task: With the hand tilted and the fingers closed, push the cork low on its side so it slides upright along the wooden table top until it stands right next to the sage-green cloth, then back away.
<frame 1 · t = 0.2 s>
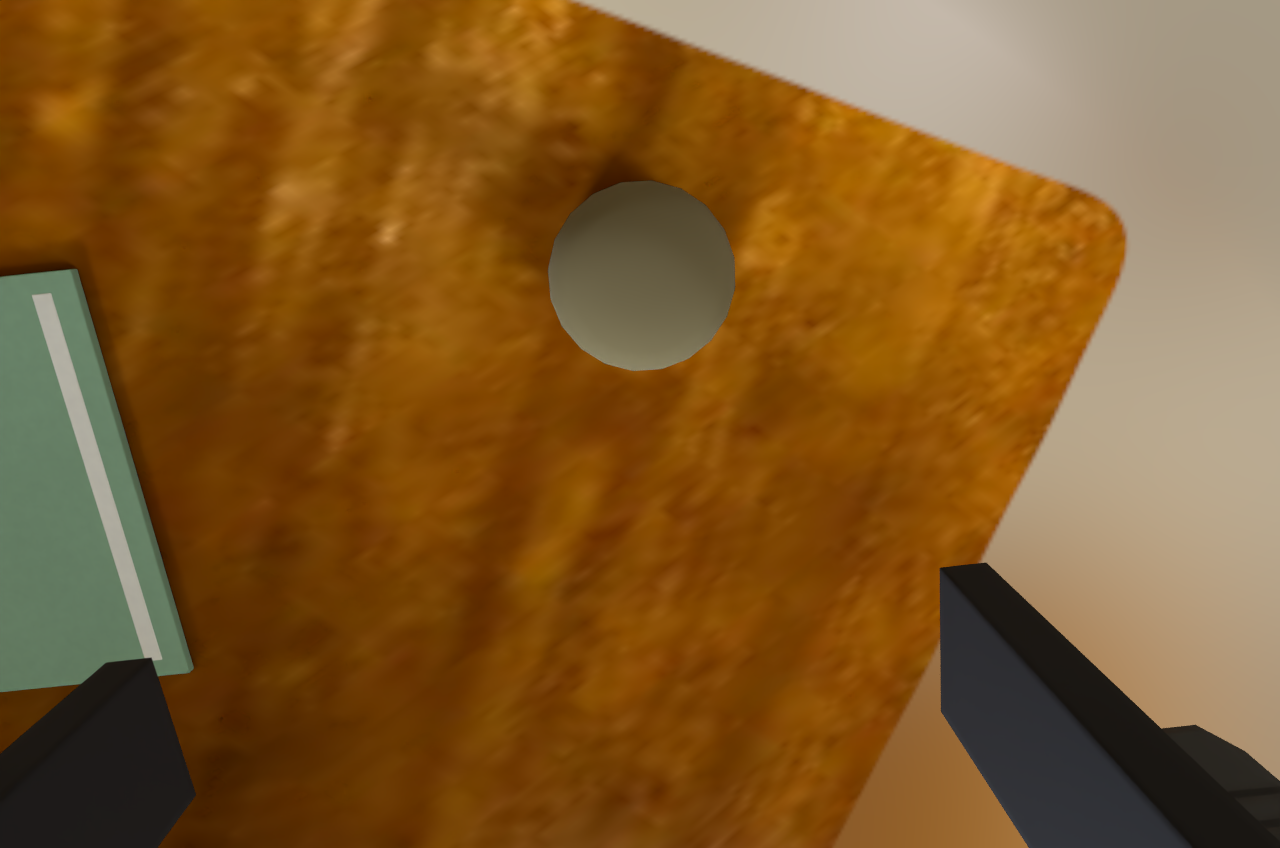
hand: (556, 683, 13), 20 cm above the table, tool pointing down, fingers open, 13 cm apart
cloth: (1, 497, 32), on the table
cork: (637, 260, 30), on the table
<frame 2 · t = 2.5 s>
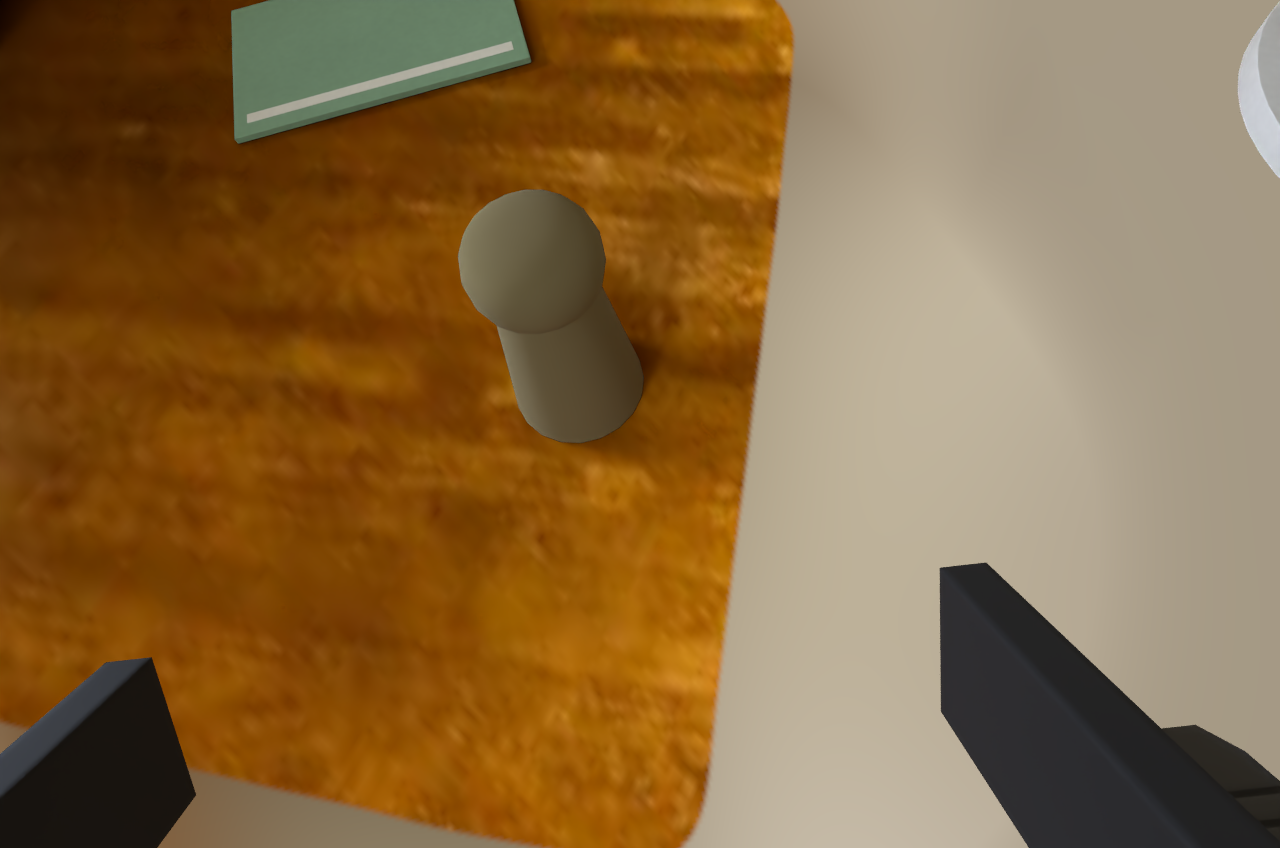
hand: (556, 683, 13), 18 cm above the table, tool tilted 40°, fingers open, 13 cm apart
cloth: (375, 38, 47), on the table
cork: (580, 385, 35), on the table
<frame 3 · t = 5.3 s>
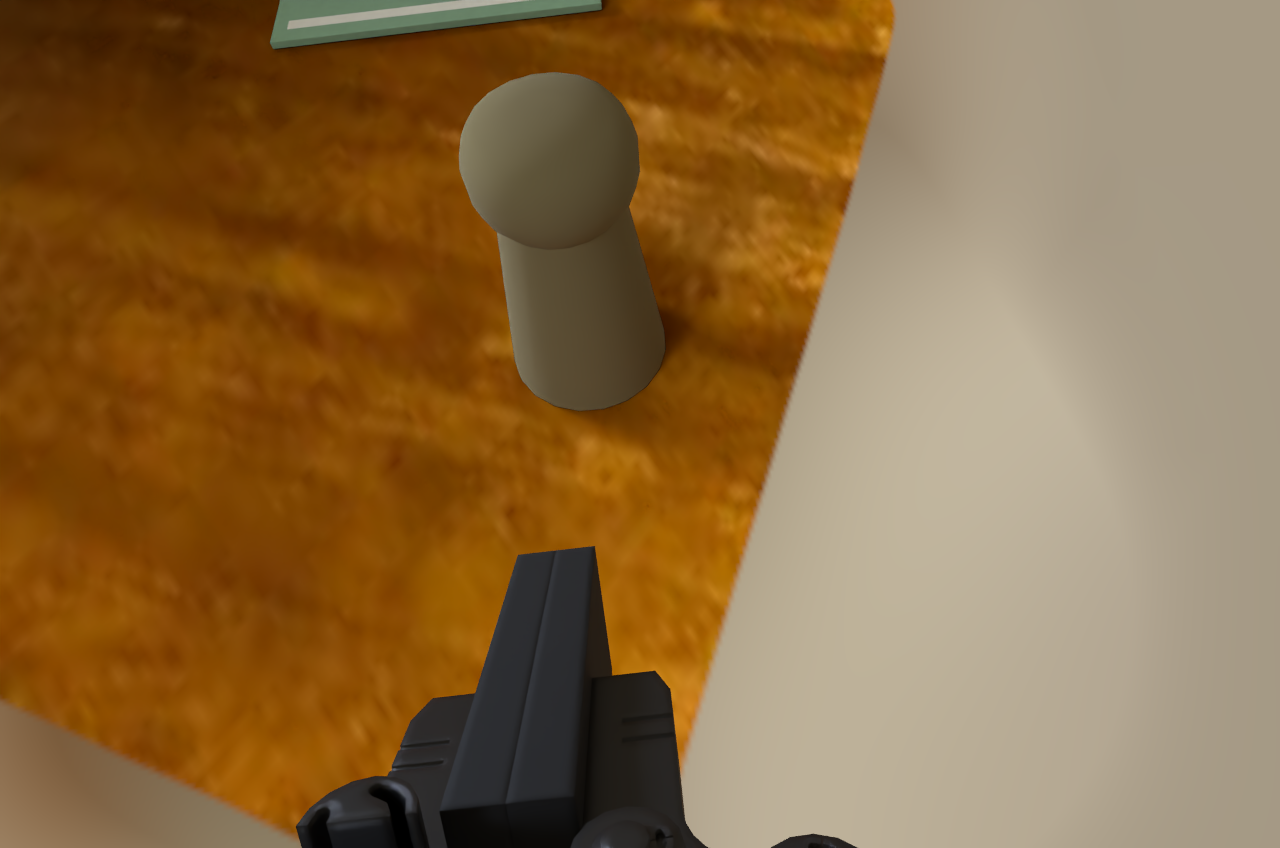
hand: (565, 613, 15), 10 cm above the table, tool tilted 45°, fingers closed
cork: (590, 348, 30), on the table
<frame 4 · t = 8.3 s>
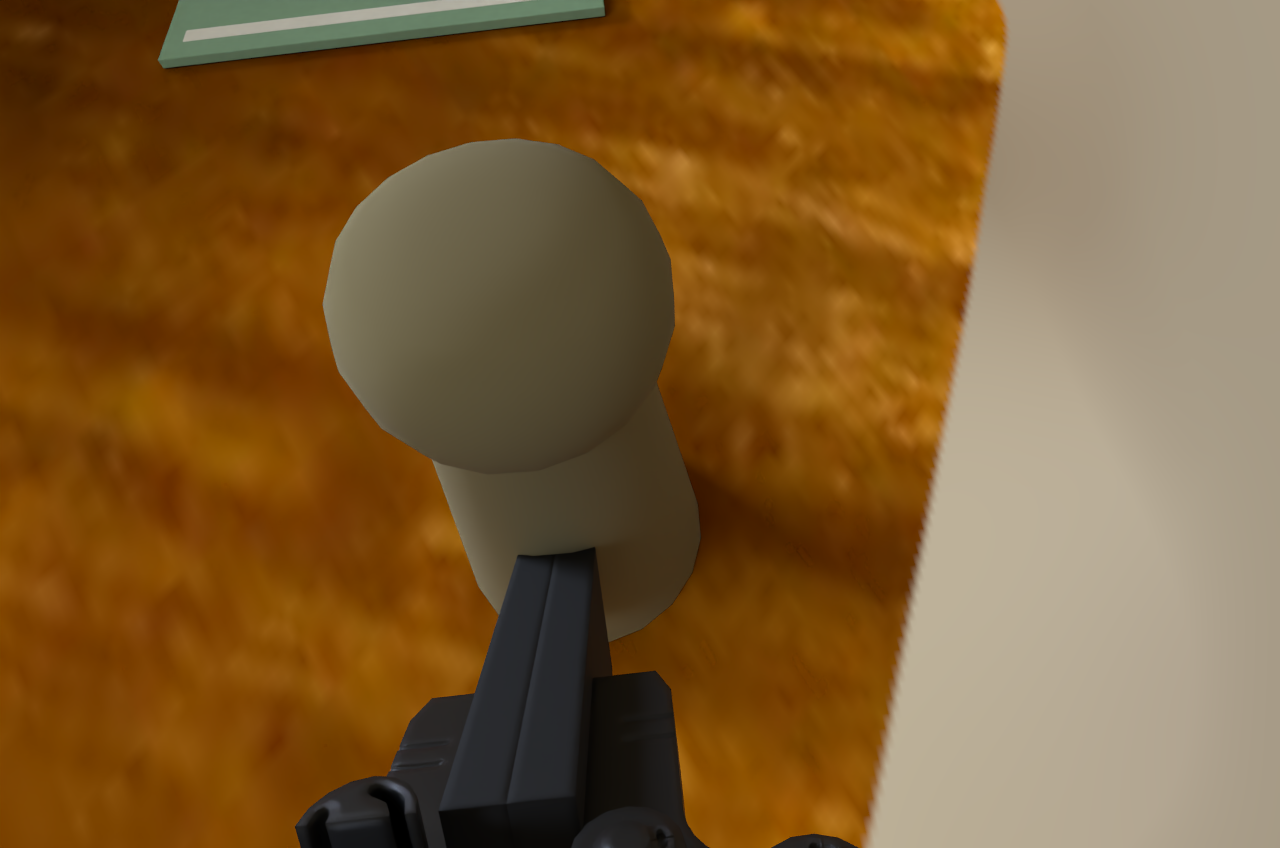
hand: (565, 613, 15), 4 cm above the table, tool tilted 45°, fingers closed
cork: (585, 531, 20), on the table, touching gripper
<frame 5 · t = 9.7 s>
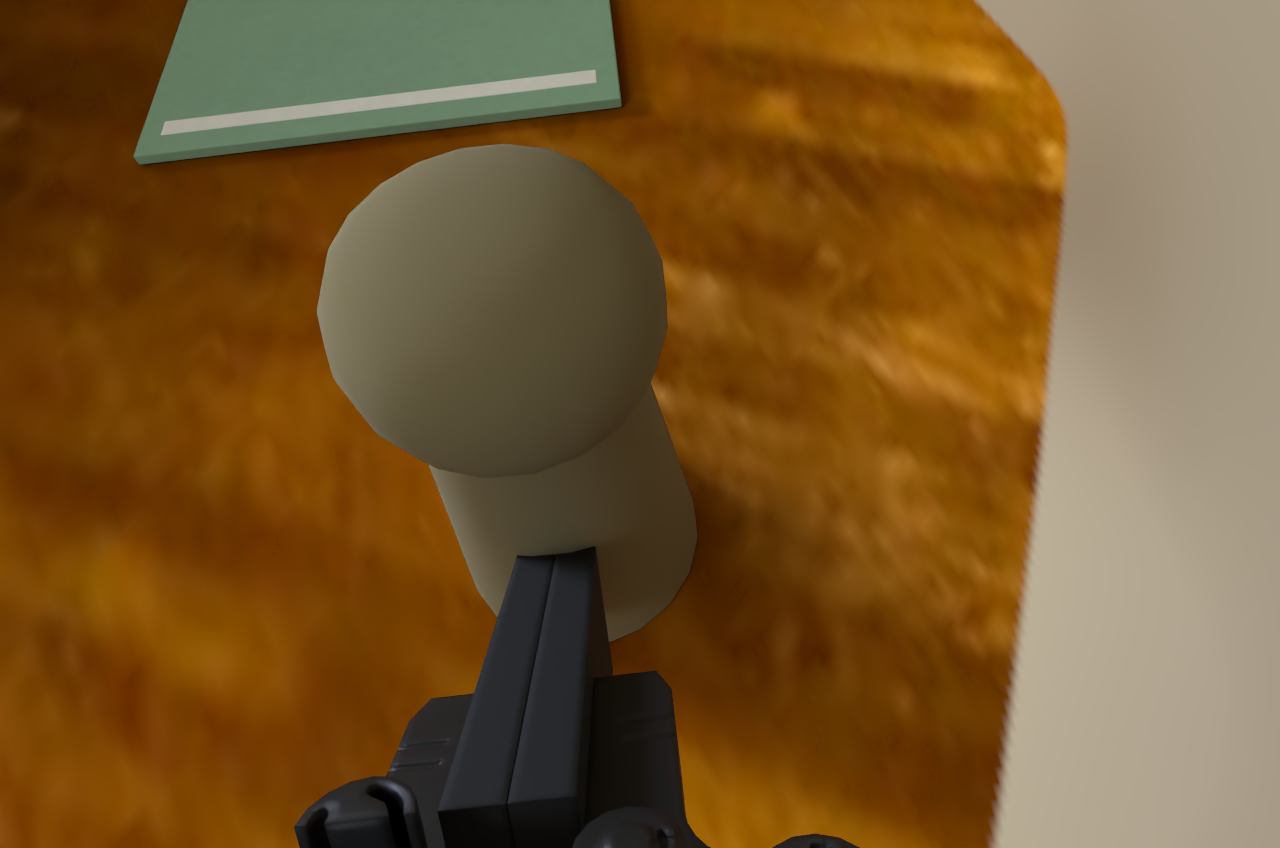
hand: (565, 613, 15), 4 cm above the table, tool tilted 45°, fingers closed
cloth: (391, 36, 31), on the table
cork: (582, 532, 20), on the table, touching gripper
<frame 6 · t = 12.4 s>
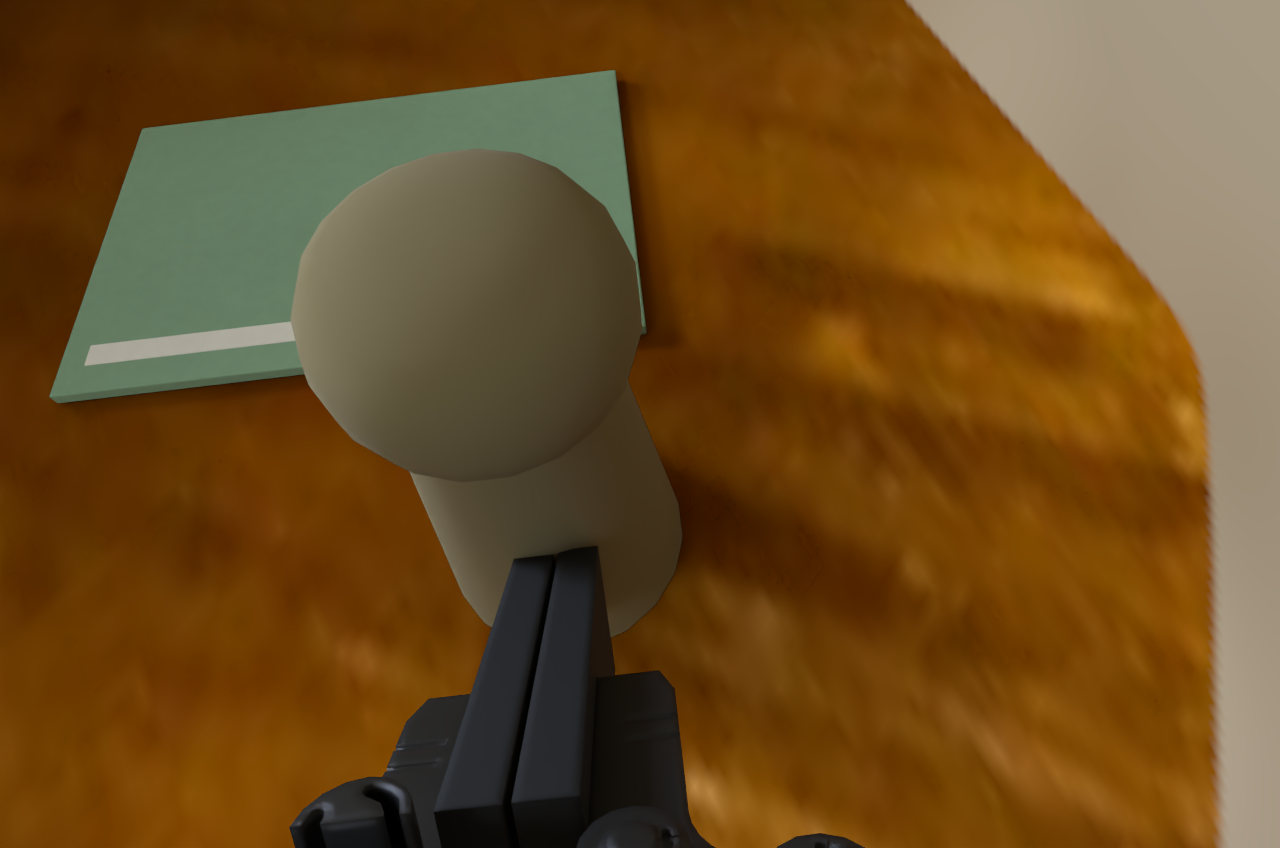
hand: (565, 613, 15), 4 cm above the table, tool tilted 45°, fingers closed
cloth: (367, 223, 26), on the table
cork: (567, 535, 20), on the table, touching gripper
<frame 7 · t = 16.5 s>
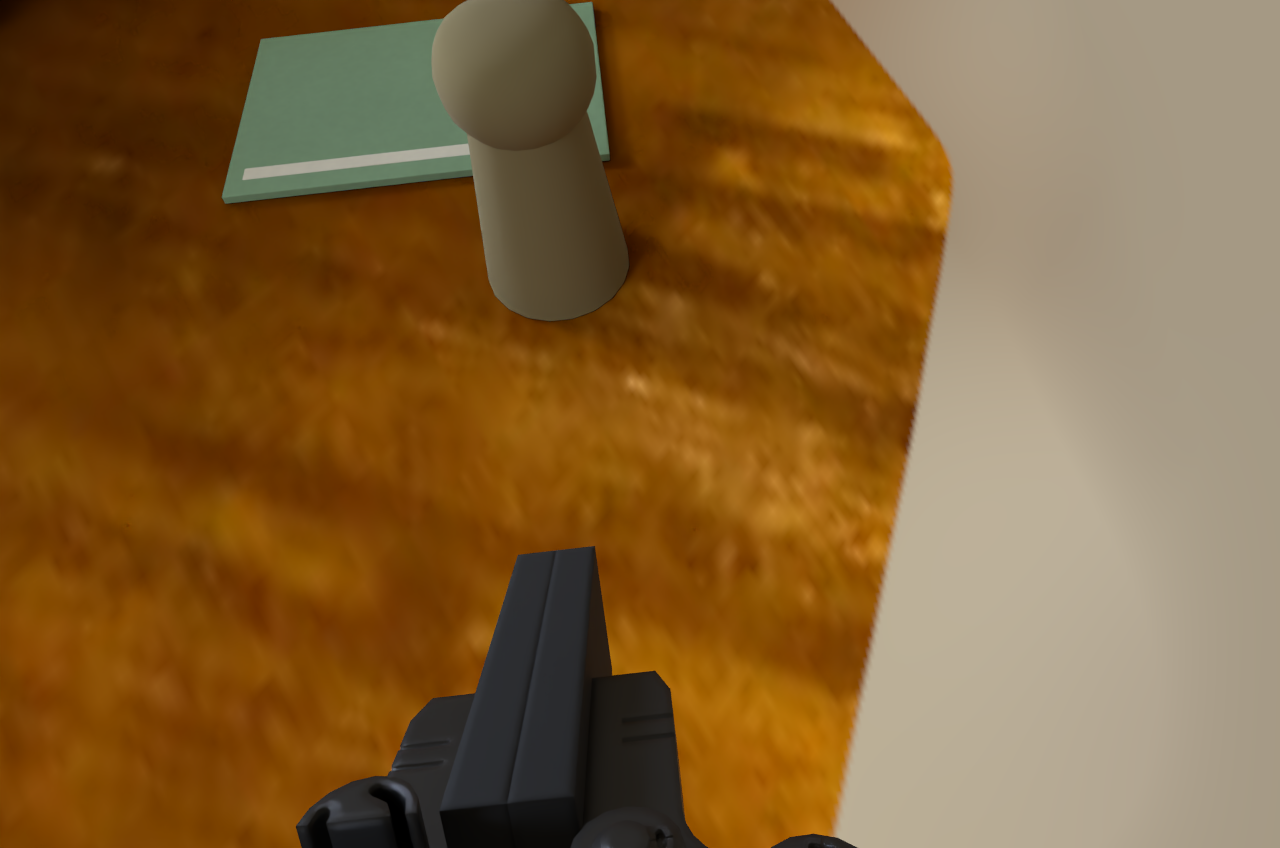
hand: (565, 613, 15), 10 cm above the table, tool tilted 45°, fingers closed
cloth: (423, 98, 38), on the table
cork: (559, 267, 32), on the table
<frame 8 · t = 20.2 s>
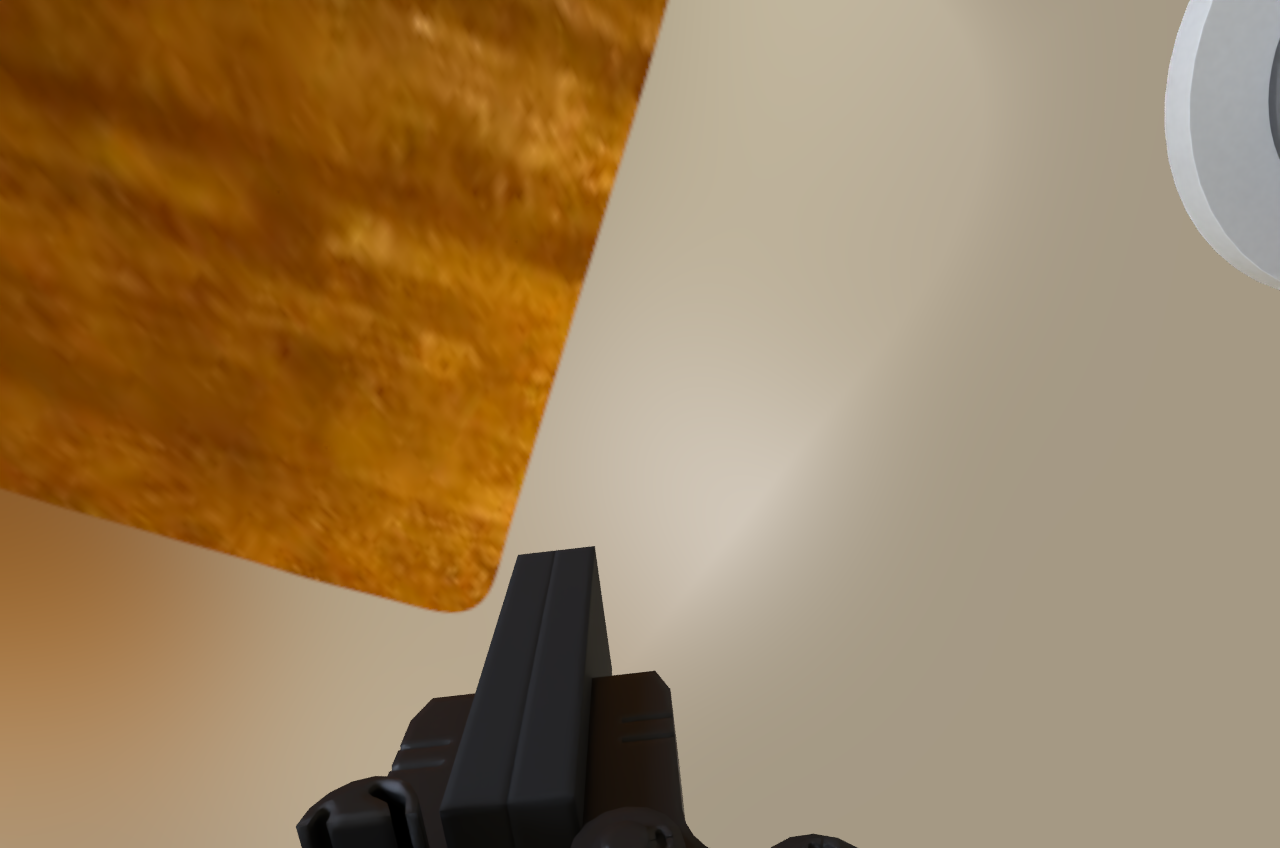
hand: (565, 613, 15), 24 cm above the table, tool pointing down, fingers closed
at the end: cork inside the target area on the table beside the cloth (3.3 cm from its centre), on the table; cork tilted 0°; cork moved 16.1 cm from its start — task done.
